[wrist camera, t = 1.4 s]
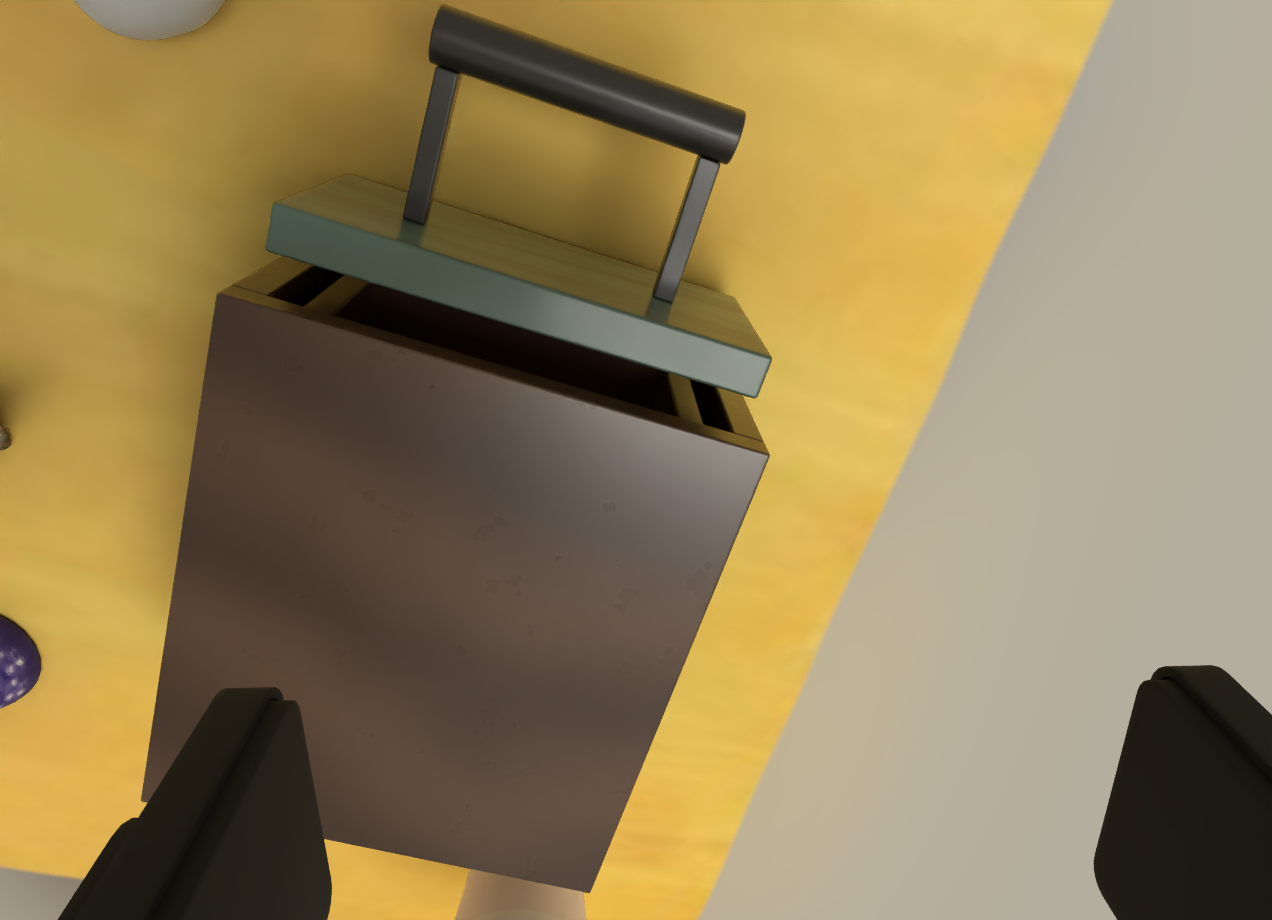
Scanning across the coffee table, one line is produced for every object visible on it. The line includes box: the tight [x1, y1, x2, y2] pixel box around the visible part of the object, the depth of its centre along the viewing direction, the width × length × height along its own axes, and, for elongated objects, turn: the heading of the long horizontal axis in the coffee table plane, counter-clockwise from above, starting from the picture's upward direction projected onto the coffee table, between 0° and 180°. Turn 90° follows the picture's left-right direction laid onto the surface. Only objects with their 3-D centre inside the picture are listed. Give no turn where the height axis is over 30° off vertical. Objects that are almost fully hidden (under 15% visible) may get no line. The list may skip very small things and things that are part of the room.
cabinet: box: [141, 256, 770, 893], centre depth 29 cm, size 16×14×9 cm
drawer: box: [265, 4, 772, 425], centre depth 27 cm, size 20×13×7 cm, turn 162°
